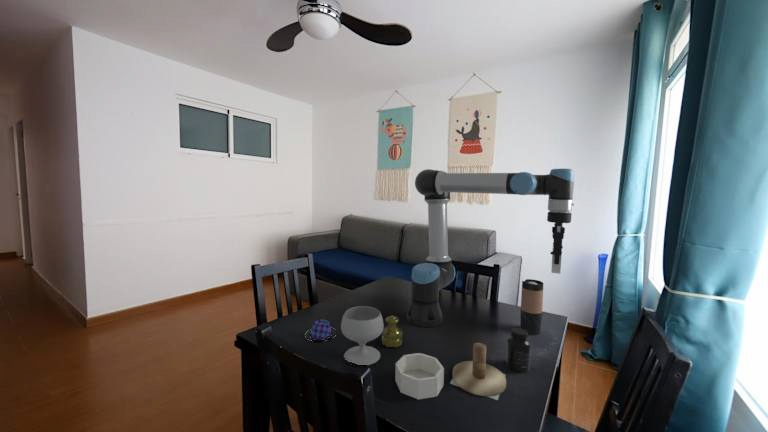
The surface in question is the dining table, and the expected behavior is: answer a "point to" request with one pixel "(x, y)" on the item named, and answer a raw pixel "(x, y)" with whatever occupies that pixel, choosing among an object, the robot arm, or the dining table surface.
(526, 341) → the supplement bottle
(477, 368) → the lid
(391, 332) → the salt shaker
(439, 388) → the bowl
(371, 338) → the chalice
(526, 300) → the travel mug
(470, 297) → the dining table surface
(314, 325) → the purple plaid hat
